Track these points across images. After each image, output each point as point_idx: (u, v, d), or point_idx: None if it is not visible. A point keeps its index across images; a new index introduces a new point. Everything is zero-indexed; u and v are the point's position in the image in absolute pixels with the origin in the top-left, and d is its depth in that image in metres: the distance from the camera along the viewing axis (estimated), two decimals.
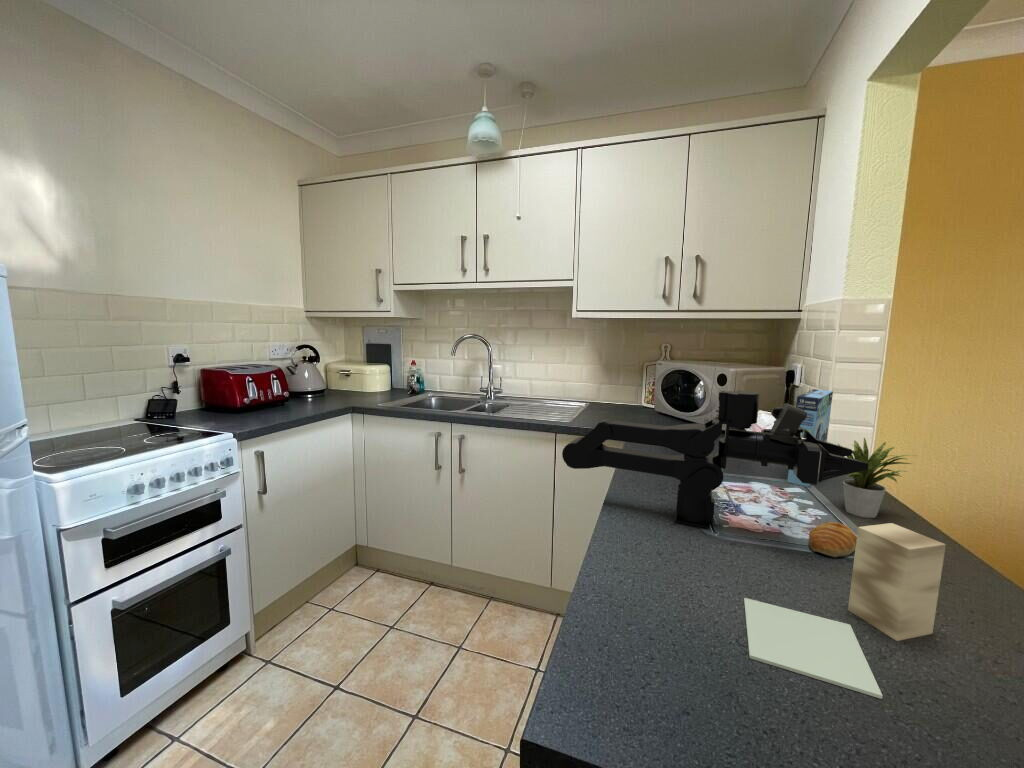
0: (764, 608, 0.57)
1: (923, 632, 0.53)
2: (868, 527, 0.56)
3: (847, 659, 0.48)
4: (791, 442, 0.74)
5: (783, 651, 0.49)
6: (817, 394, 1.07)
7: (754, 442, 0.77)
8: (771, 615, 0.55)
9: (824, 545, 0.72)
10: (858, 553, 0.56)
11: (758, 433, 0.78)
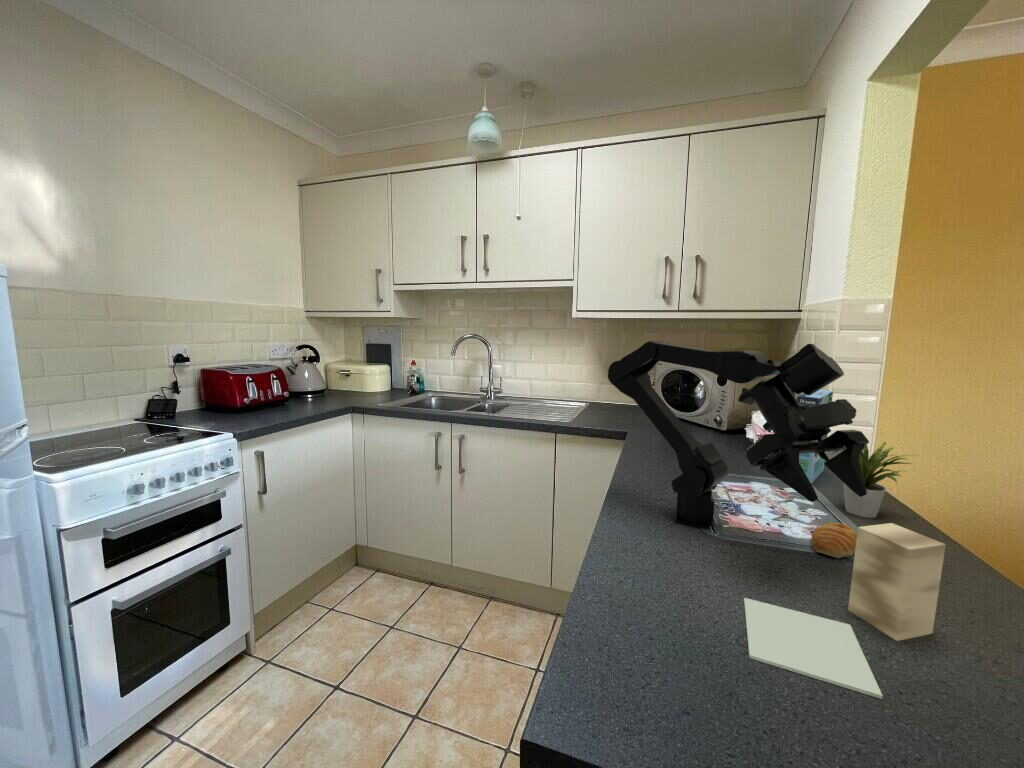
0: (764, 608, 0.57)
1: (923, 632, 0.53)
2: (868, 527, 0.56)
3: (847, 659, 0.48)
4: (794, 431, 0.66)
5: (783, 651, 0.49)
6: (817, 394, 1.07)
7: (779, 402, 0.69)
8: (771, 615, 0.55)
9: (828, 546, 0.71)
10: (858, 553, 0.56)
11: (790, 403, 0.69)
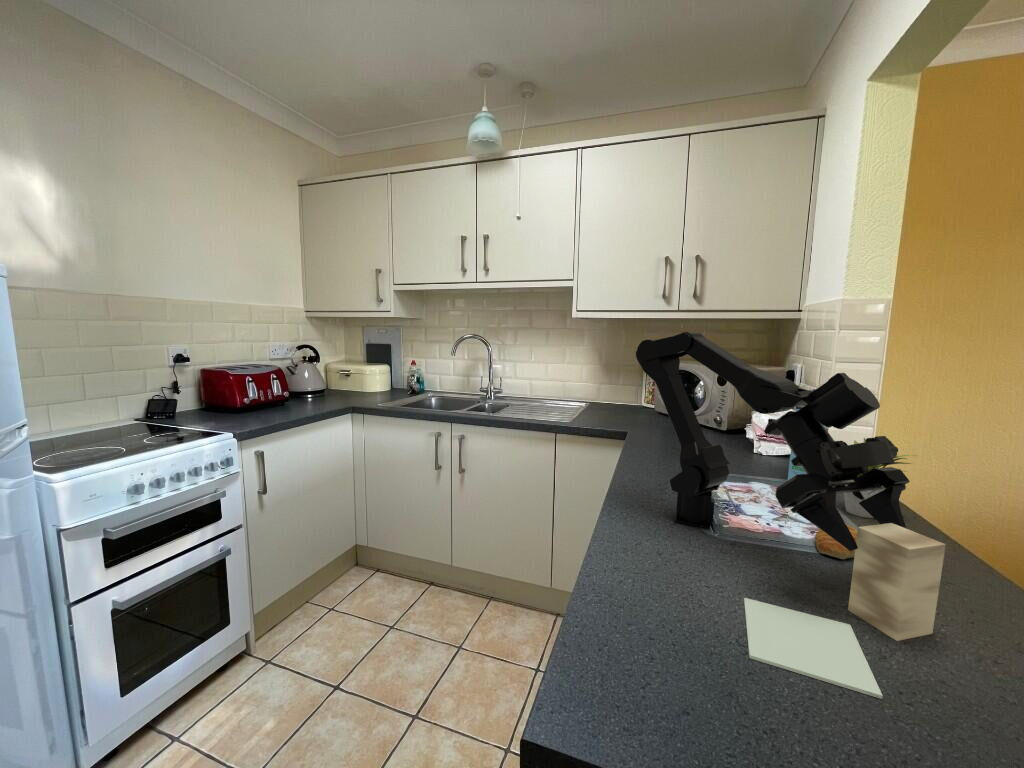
0: (764, 608, 0.57)
1: (923, 632, 0.53)
2: (868, 527, 0.56)
3: (847, 659, 0.48)
4: (828, 470, 0.60)
5: (783, 651, 0.49)
6: None
7: (808, 437, 0.64)
8: (771, 615, 0.55)
9: (832, 547, 0.71)
10: (858, 553, 0.56)
11: (822, 437, 0.63)
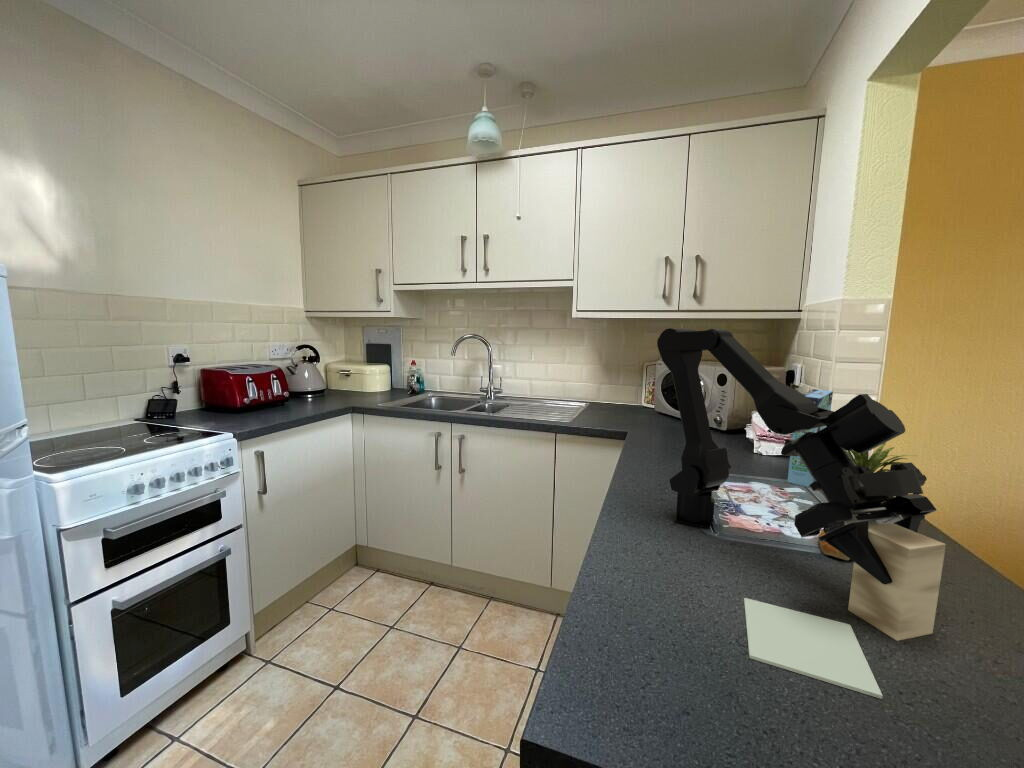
0: (764, 608, 0.57)
1: (923, 632, 0.53)
2: (868, 527, 0.56)
3: (847, 659, 0.48)
4: (851, 497, 0.57)
5: (783, 651, 0.49)
6: (817, 394, 1.07)
7: (828, 462, 0.61)
8: (771, 615, 0.55)
9: None
10: None
11: (844, 462, 0.60)
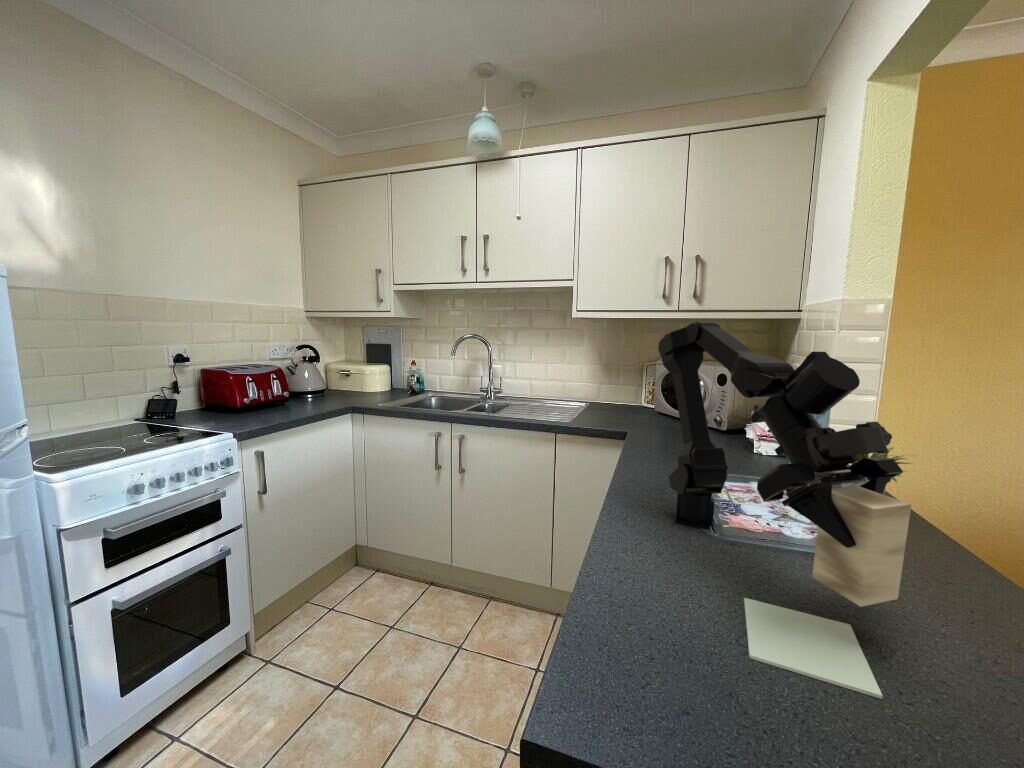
0: (764, 608, 0.57)
1: (888, 597, 0.50)
2: (833, 489, 0.53)
3: (847, 659, 0.48)
4: (815, 459, 0.54)
5: (783, 651, 0.49)
6: None
7: (787, 427, 0.58)
8: (771, 615, 0.55)
9: None
10: None
11: (809, 424, 0.57)
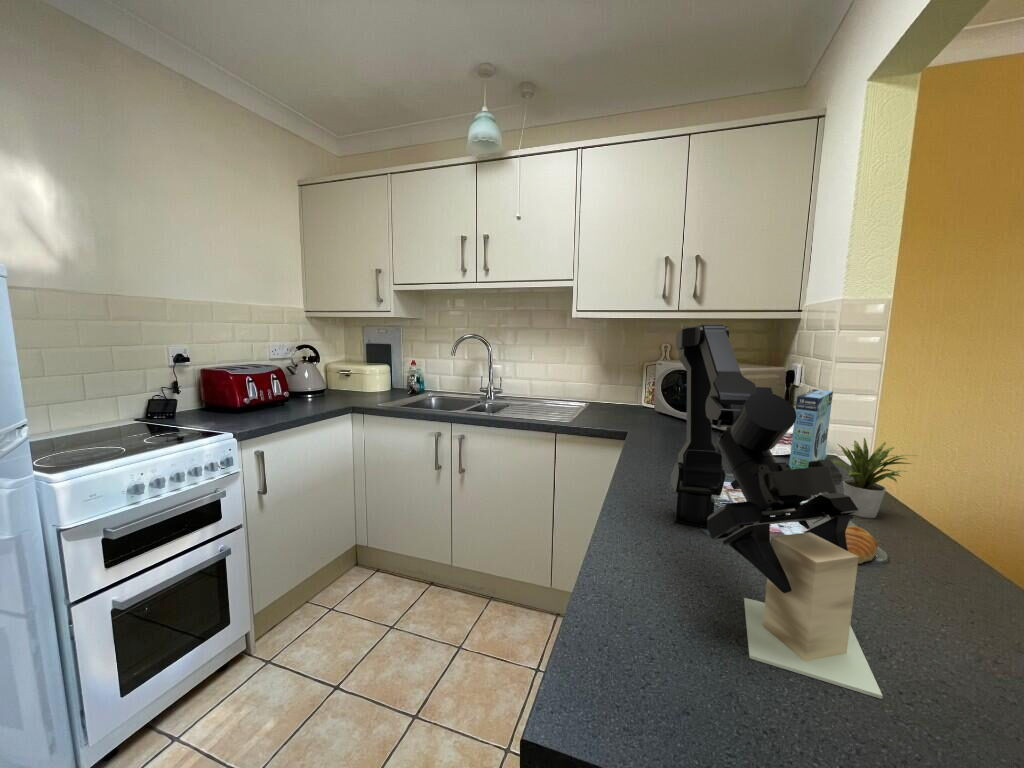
0: None
1: (836, 652, 0.49)
2: (782, 537, 0.52)
3: (847, 659, 0.48)
4: (765, 497, 0.53)
5: (783, 651, 0.49)
6: (817, 394, 1.07)
7: (737, 463, 0.57)
8: None
9: None
10: None
11: (763, 459, 0.56)
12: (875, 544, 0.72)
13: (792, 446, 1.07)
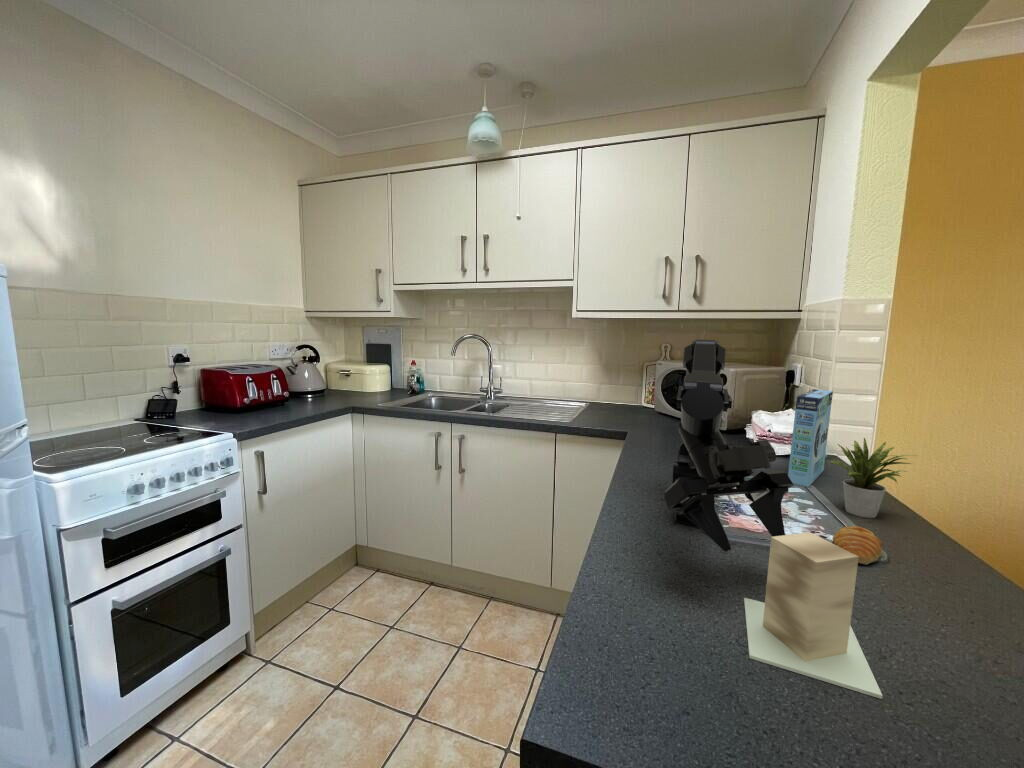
0: None
1: (836, 652, 0.49)
2: (782, 537, 0.52)
3: (847, 659, 0.48)
4: (713, 472, 0.62)
5: (783, 651, 0.49)
6: (817, 394, 1.07)
7: (690, 447, 0.67)
8: None
9: (857, 553, 0.69)
10: (771, 565, 0.52)
11: (713, 441, 0.65)
12: (880, 544, 0.72)
13: (792, 446, 1.07)
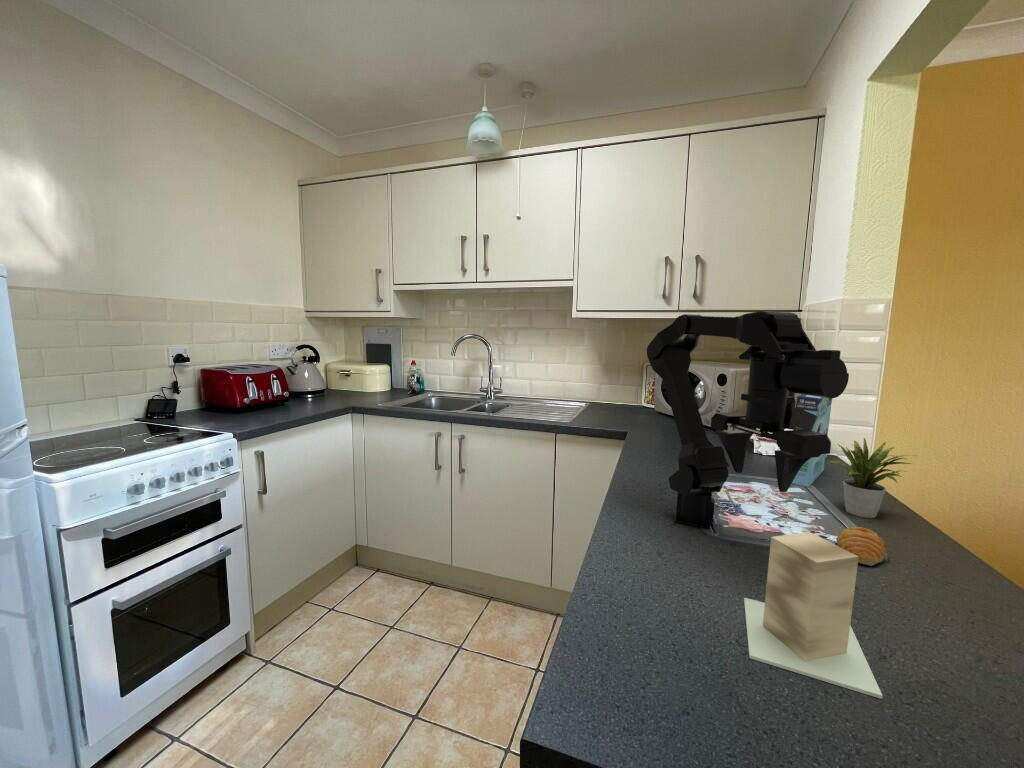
0: None
1: (836, 652, 0.49)
2: (782, 537, 0.52)
3: (847, 659, 0.48)
4: (791, 424, 0.67)
5: (783, 651, 0.49)
6: None
7: (763, 388, 0.66)
8: None
9: (862, 554, 0.69)
10: (771, 565, 0.52)
11: None
12: (884, 545, 0.71)
13: None
